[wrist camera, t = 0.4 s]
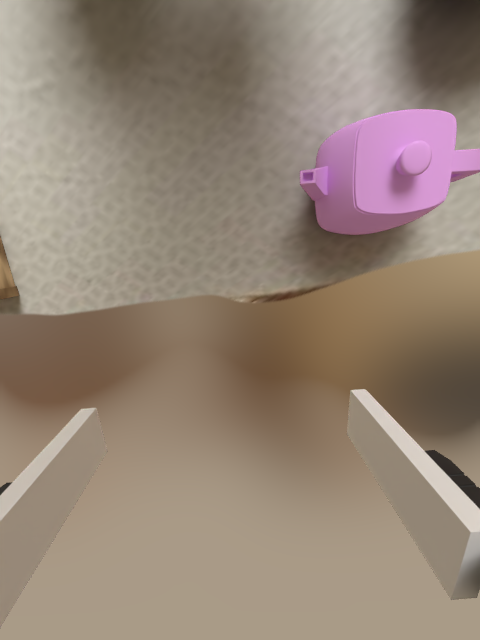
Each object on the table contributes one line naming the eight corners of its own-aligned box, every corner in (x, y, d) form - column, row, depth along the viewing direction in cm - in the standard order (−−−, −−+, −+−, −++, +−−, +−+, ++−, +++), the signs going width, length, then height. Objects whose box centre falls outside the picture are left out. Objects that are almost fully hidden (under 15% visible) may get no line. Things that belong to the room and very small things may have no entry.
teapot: (424, 133, 33) (536, 65, 21) (414, 229, 37) (506, 219, 25) (279, 146, 33) (307, 85, 21) (283, 242, 37) (308, 237, 24)
